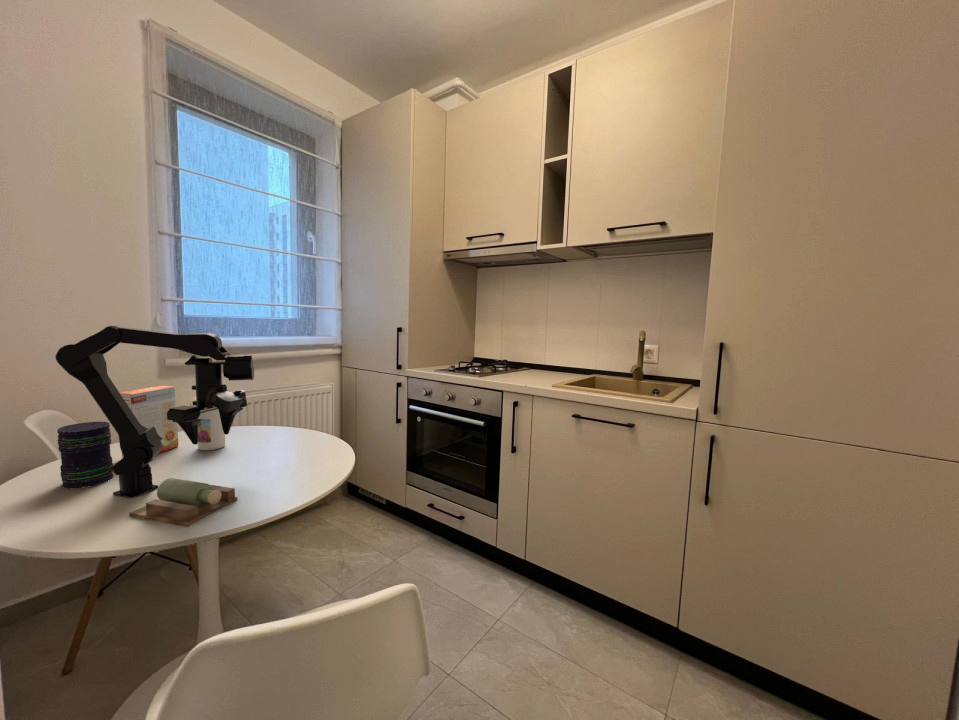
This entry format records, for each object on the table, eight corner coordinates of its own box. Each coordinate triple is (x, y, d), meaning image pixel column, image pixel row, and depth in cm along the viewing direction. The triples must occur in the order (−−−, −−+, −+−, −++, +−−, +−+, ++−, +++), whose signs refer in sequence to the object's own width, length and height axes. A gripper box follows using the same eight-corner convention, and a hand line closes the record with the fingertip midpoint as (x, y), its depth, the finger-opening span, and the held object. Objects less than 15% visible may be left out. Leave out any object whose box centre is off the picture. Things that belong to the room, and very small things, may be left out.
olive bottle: (159, 479, 91) (207, 487, 87) (181, 476, 96) (227, 484, 92) (154, 502, 90) (203, 511, 87) (176, 498, 95) (223, 506, 92)
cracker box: (164, 445, 133) (161, 384, 131) (179, 446, 132) (176, 385, 130) (119, 459, 119) (115, 392, 117) (136, 461, 118) (131, 393, 116)
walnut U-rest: (129, 516, 87) (128, 502, 86) (185, 491, 99) (185, 479, 99) (186, 527, 83) (185, 512, 83) (237, 500, 96) (237, 487, 95)
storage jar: (91, 489, 99) (86, 432, 98) (49, 489, 98) (44, 431, 97) (123, 473, 109) (120, 421, 107) (86, 473, 108) (82, 421, 107)
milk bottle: (220, 442, 138) (218, 386, 136) (228, 447, 133) (226, 389, 131) (194, 447, 132) (191, 389, 130) (202, 452, 127) (199, 392, 125)
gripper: (200, 389, 91) (203, 453, 93) (262, 378, 109) (263, 432, 111) (163, 386, 94) (166, 448, 96) (229, 375, 112) (231, 428, 114)
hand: (211, 439), depth 104 cm, fingers open, 9 cm apart
